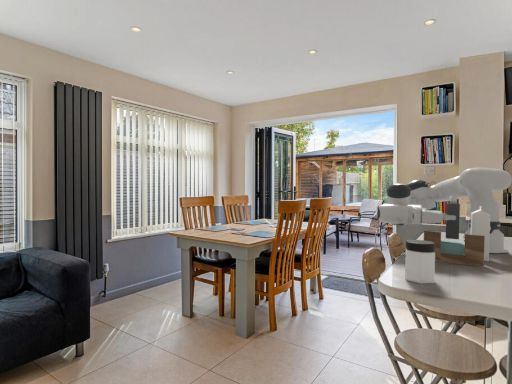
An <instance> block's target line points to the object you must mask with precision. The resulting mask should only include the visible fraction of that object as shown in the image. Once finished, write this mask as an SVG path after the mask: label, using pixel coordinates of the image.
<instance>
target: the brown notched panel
mask: <svg viewBox="0 0 512 384" xmlns="http://www.w3.org/2000/svg"><path fill="white" fill-rule="evenodd" d="M484 238H485V236H484V235H474V234H465V242H464V243H465V249H464V256H462V255H452V254H443V253H441V240H442V232H441V231H434V230H433V231H432V230H431V231H430V230H424V231H423V240H424V241H430V242H434V243H435V262H440V263H449V264H457V265H466V266H467V265H468V266H476V267H484V266H485V265H484V264H485V263H484V262H485V261H484Z"/></svg>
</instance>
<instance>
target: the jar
mask: <svg viewBox="0 0 512 384" xmlns="http://www.w3.org/2000/svg"><path fill="white" fill-rule="evenodd" d="M404 267H405V268H404V277H405V280H406V281H409V282H413V283H415V284H416V283H417V284H421V285H422V284H423V285H424V284H426V285H427V284H435V275H436V274H435V272H436V269H435V268H436V261H435V243H434V242H430V241H424V239H407V240H405V258H404Z"/></svg>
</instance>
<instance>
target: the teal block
mask: <svg viewBox="0 0 512 384" xmlns="http://www.w3.org/2000/svg"><path fill="white" fill-rule="evenodd" d="M464 243H465V242H464V241H453V240H445V239H444V240H442V239H441V253H443V254H452V255H462V256H464Z"/></svg>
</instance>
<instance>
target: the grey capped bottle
mask: <svg viewBox="0 0 512 384" xmlns="http://www.w3.org/2000/svg"><path fill="white" fill-rule="evenodd" d="M457 200H458V199H457V196H450V201H449V202H447V203H446V208H445V209H446V210H445V211H446V212H445V213H446V215H455V216H456V220H445V239H449V240H459V239H460V215H461V214H460V212H461V210H460V209H461V204H460V203H457V202H458V201H457Z"/></svg>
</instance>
